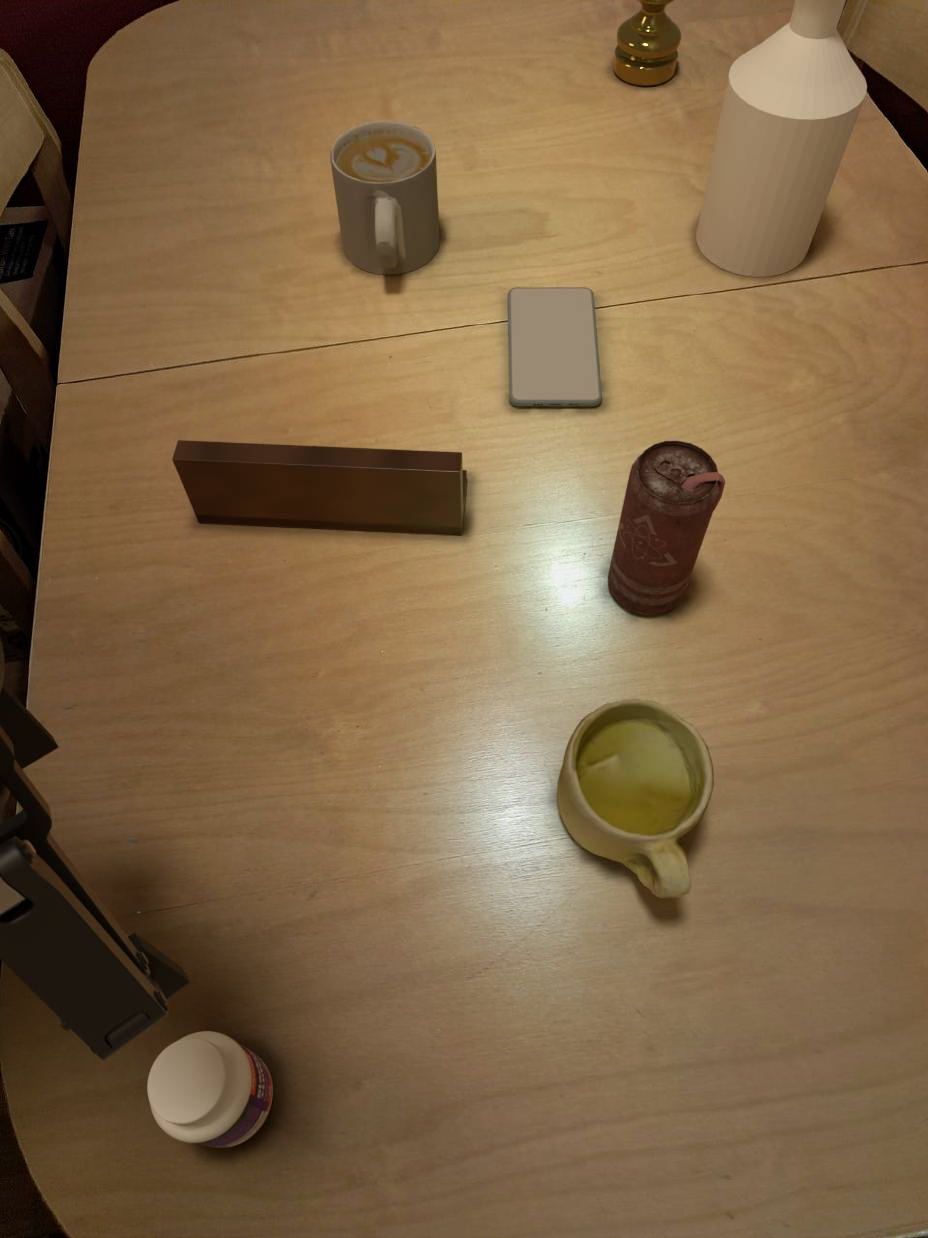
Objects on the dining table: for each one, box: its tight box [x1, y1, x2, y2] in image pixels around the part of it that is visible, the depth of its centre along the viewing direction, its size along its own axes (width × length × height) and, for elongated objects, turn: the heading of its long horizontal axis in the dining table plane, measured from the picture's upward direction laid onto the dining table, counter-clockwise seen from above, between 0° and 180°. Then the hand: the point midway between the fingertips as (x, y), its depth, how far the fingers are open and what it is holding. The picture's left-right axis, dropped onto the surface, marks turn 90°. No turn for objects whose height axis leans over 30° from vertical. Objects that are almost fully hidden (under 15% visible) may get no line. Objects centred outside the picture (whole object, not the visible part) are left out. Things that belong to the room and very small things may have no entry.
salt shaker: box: [613, 0, 682, 87], centre depth 108 cm, size 7×7×10 cm
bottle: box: [695, 0, 868, 278], centre depth 85 cm, size 12×12×25 cm
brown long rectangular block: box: [171, 439, 468, 536], centre depth 76 cm, size 22×6×8 cm, turn 86°
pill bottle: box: [146, 1030, 274, 1149], centre depth 52 cm, size 5×5×10 cm
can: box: [607, 440, 726, 615], centre depth 68 cm, size 6×6×14 cm
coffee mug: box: [329, 120, 441, 276], centre depth 91 cm, size 13×10×10 cm
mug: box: [556, 698, 715, 899], centre depth 61 cm, size 12×10×10 cm
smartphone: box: [507, 286, 603, 407], centre depth 88 cm, size 8×1×15 cm
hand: (90, 868), depth 43 cm, fingers open, 13 cm apart
